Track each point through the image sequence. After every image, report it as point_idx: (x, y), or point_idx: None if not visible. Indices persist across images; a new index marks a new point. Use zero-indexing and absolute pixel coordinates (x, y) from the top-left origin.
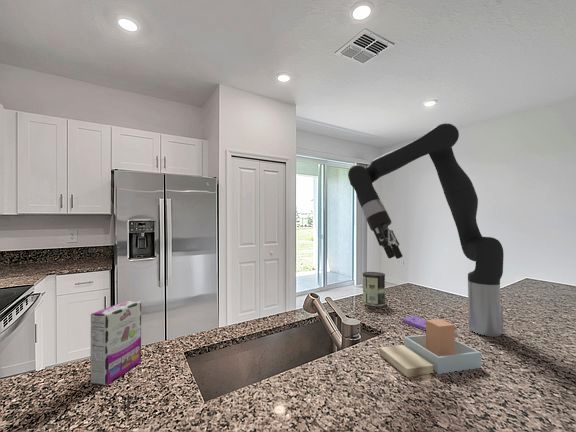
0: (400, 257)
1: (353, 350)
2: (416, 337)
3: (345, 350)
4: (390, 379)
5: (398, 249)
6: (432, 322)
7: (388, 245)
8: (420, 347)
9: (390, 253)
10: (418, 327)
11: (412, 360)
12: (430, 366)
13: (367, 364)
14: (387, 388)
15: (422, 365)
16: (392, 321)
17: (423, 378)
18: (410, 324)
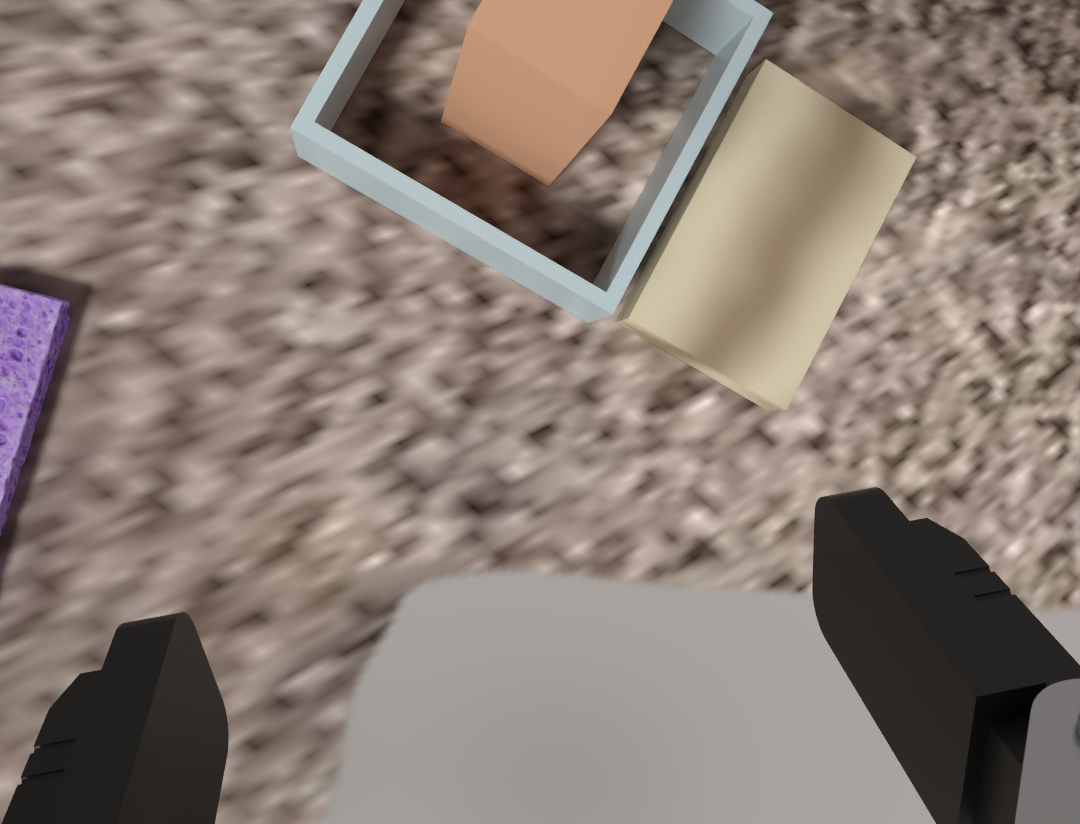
0: (196, 643)
1: None
2: (531, 250)
3: None
4: (969, 224)
5: (136, 792)
6: (626, 49)
7: (1074, 715)
8: (695, 157)
9: (967, 563)
10: (31, 437)
11: (799, 174)
12: (781, 72)
13: (925, 393)
14: (1048, 198)
15: (815, 106)
16: (51, 691)
17: (836, 100)
18: (1, 527)
